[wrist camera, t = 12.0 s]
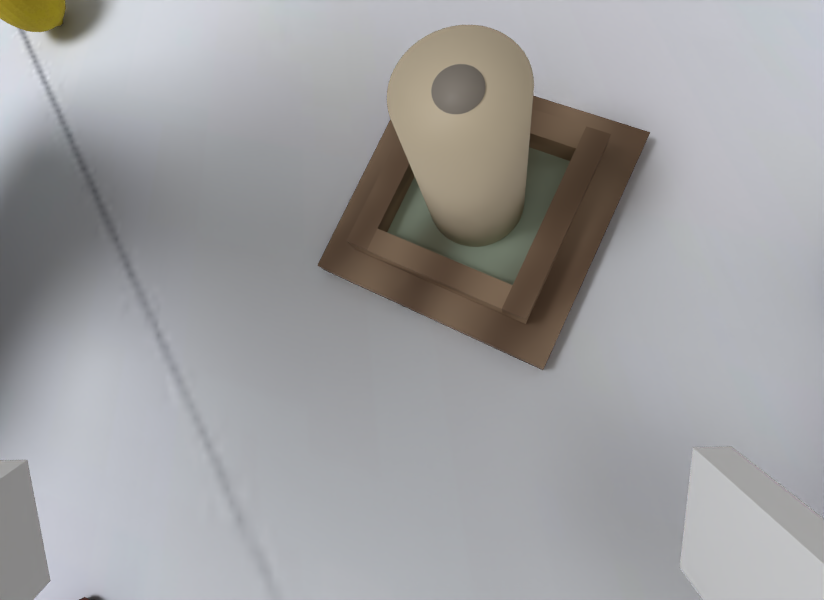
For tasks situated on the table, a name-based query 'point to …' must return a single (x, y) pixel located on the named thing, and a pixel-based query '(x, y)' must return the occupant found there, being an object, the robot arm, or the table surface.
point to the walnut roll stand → (503, 260)
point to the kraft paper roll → (466, 128)
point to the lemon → (33, 14)
